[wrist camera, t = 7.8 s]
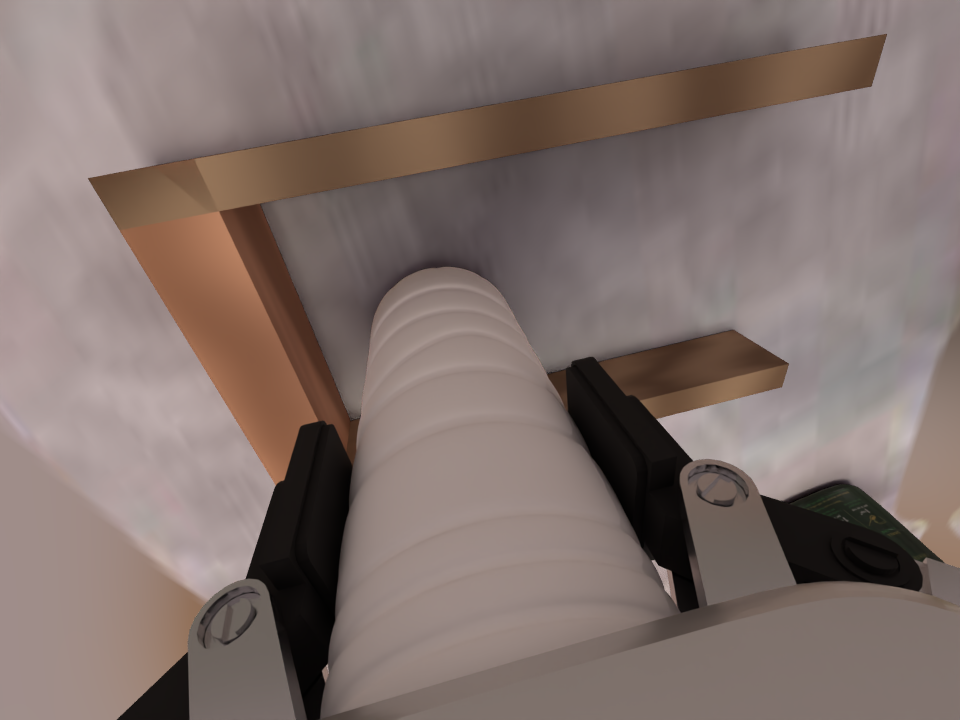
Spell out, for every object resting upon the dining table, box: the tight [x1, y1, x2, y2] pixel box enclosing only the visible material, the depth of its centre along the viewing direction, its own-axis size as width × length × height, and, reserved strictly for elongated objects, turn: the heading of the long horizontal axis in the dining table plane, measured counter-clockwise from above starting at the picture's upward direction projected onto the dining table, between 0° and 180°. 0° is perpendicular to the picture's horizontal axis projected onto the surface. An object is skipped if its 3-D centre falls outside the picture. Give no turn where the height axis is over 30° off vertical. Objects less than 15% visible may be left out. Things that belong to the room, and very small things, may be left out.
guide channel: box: [88, 34, 887, 485], centre depth 18 cm, size 26×15×4 cm, turn 98°
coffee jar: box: [791, 484, 944, 563], centre depth 29 cm, size 10×8×19 cm
